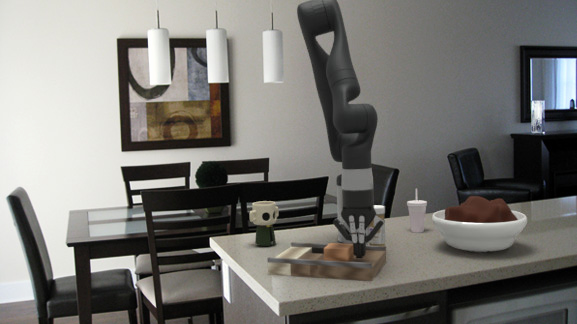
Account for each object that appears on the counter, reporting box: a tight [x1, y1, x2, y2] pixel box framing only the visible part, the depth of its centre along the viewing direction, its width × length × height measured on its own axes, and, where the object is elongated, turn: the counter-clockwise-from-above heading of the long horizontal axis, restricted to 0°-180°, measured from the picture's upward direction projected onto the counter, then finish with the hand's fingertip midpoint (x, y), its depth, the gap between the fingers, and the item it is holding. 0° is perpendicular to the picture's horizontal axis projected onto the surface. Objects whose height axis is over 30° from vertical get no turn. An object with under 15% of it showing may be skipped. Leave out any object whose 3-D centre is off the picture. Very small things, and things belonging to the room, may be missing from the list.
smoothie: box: [406, 188, 428, 234], centre depth 185 cm, size 6×6×14 cm
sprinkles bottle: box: [368, 204, 386, 246], centre depth 157 cm, size 5×5×14 cm
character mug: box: [249, 200, 279, 247], centre depth 174 cm, size 11×7×13 cm, turn 131°
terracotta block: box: [324, 242, 354, 262], centre depth 142 cm, size 6×6×4 cm
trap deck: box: [267, 241, 387, 282], centre depth 146 cm, size 26×18×4 cm
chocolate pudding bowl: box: [431, 195, 528, 253], centre depth 160 cm, size 25×25×15 cm
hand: (359, 257), depth 140 cm, fingers closed
